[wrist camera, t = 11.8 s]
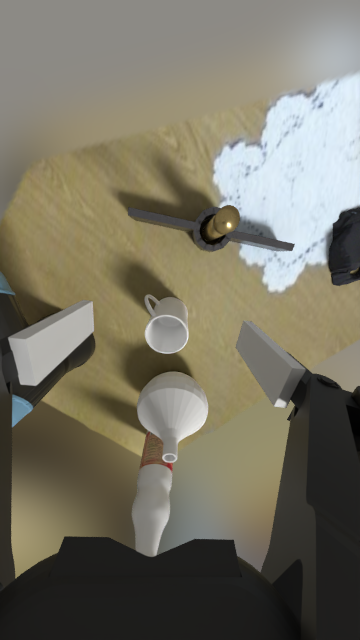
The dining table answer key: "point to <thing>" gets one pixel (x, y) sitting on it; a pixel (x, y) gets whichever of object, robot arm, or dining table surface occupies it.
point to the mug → (166, 325)
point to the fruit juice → (151, 496)
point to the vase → (172, 409)
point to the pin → (221, 223)
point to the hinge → (195, 227)
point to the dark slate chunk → (345, 248)
